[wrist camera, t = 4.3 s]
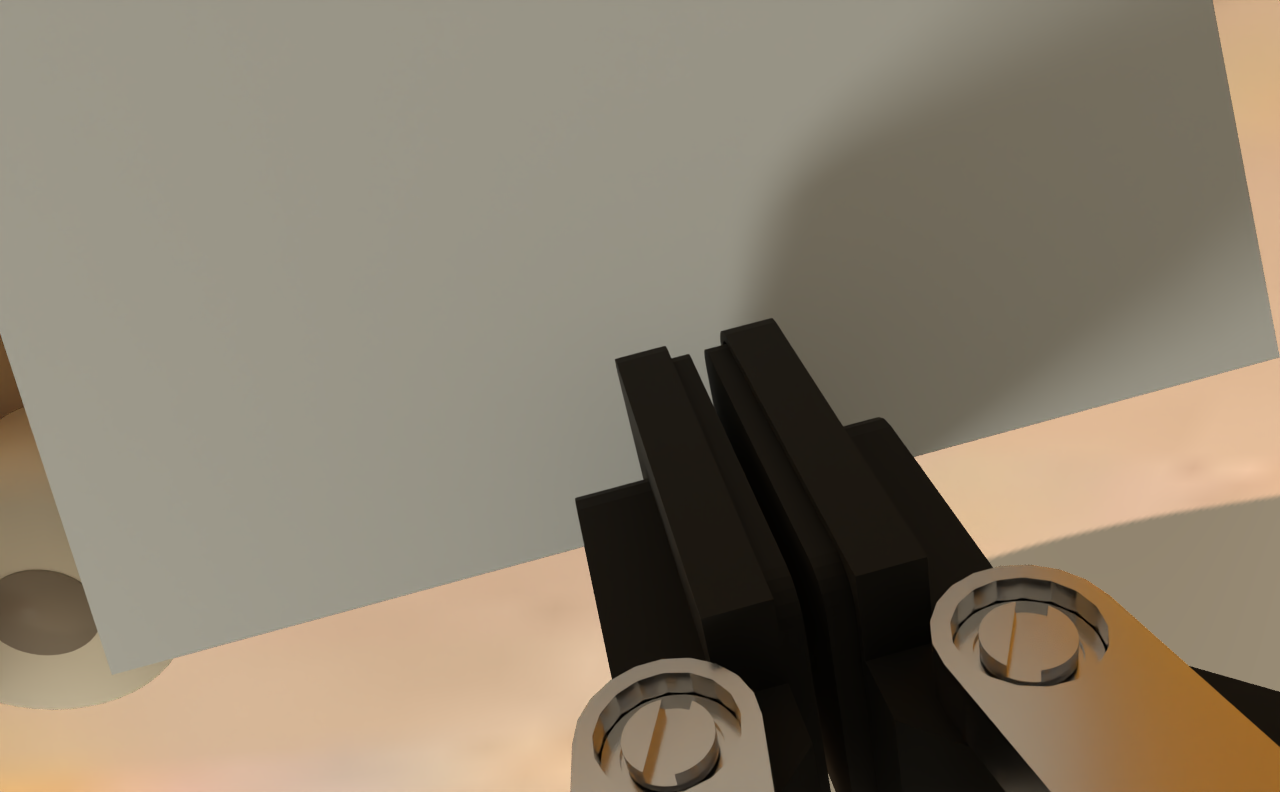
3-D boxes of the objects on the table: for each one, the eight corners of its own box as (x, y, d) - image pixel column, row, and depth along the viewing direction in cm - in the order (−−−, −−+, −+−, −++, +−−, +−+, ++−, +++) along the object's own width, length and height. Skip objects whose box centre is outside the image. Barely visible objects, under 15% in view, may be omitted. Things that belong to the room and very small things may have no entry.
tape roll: (-84, 432, 26) (-172, 548, 22) (159, 369, 26) (115, 473, 23) (36, 611, 29) (-23, 740, 25) (252, 553, 30) (227, 672, 26)
